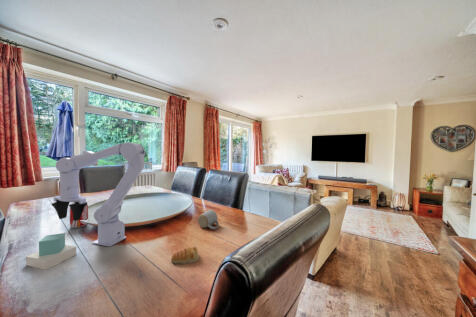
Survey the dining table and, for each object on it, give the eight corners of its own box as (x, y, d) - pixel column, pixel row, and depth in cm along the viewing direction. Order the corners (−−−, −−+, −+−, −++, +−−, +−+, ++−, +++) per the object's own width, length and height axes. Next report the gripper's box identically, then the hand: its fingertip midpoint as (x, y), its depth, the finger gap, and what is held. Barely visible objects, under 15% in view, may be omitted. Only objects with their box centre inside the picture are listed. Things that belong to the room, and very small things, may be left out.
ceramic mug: (196, 226, 94) (196, 212, 93) (206, 221, 101) (207, 208, 100) (212, 232, 88) (212, 216, 88) (222, 226, 95) (222, 212, 95)
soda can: (77, 229, 88) (77, 205, 87) (65, 228, 89) (65, 204, 89) (91, 224, 95) (91, 201, 94) (80, 222, 96) (80, 200, 96)
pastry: (171, 268, 60) (171, 257, 60) (170, 257, 67) (170, 247, 66) (199, 262, 64) (200, 251, 64) (196, 252, 70) (196, 242, 70)
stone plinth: (76, 254, 67) (76, 246, 67) (45, 269, 58) (45, 260, 58) (58, 251, 69) (58, 243, 69) (26, 265, 60) (25, 256, 60)
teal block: (65, 246, 67) (64, 232, 67) (58, 253, 62) (58, 238, 62) (46, 249, 65) (46, 235, 65) (39, 256, 60) (38, 241, 60)
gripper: (93, 186, 77) (93, 217, 78) (67, 184, 80) (67, 214, 81) (75, 189, 70) (75, 223, 71) (47, 187, 73) (47, 220, 74)
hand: (69, 219), depth 75 cm, fingers open, 7 cm apart
